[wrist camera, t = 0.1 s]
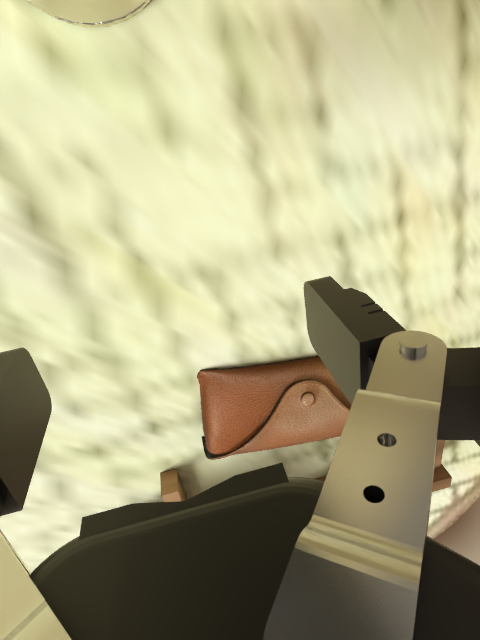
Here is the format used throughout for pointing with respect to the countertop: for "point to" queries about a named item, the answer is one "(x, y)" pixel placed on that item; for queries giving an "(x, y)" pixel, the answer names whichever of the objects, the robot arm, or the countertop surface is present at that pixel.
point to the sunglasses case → (269, 406)
